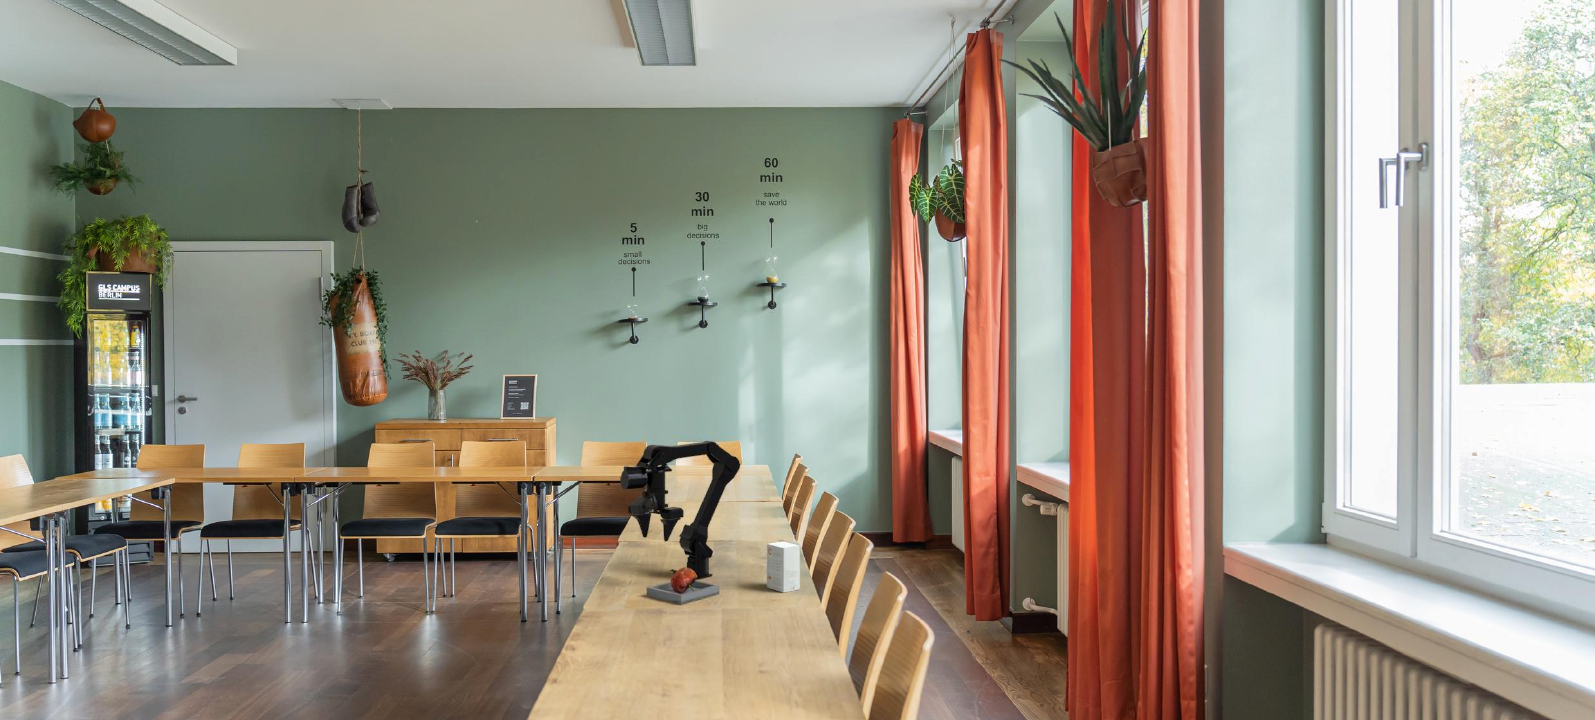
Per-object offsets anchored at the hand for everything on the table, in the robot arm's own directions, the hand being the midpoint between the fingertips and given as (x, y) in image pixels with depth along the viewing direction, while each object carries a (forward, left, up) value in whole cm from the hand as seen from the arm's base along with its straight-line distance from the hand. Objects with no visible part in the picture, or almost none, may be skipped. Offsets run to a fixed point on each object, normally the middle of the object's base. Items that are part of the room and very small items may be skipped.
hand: (655, 539), depth 282 cm
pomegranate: (+5, +18, -12) cm, 22 cm away
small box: (-19, +34, -13) cm, 41 cm away
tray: (+5, +17, -13) cm, 22 cm away
